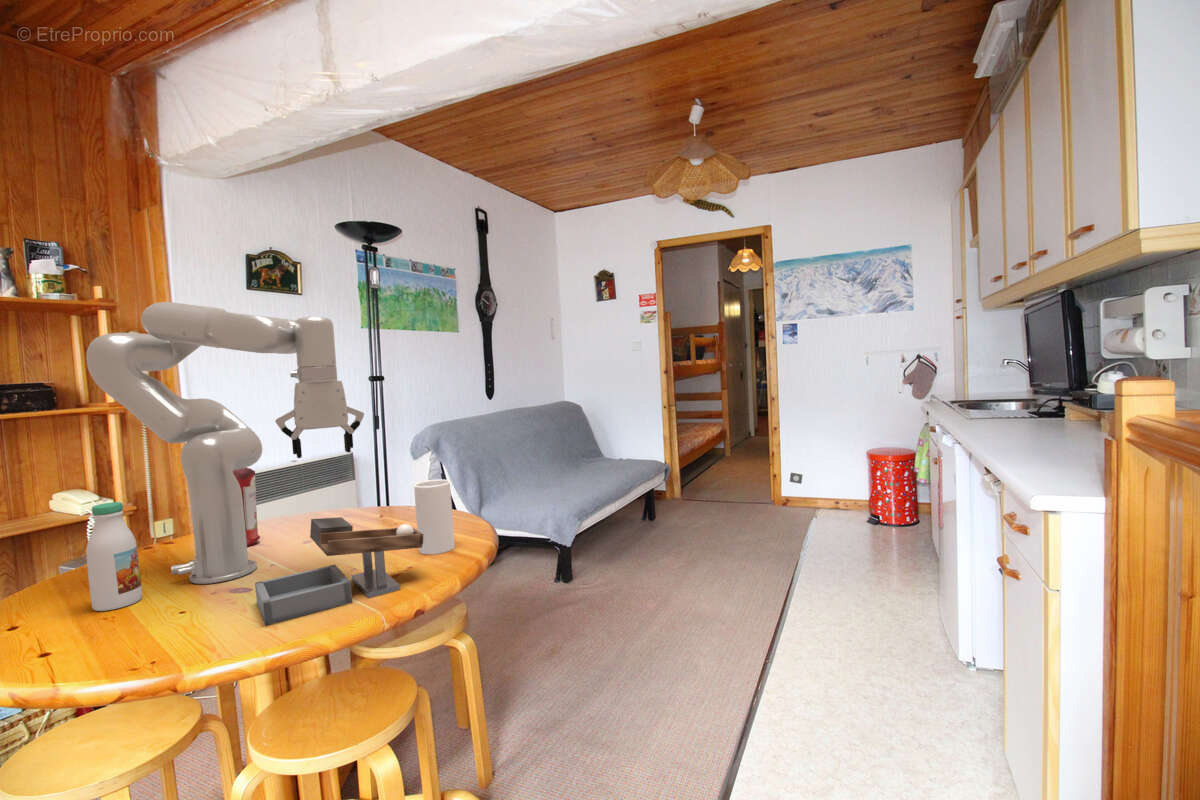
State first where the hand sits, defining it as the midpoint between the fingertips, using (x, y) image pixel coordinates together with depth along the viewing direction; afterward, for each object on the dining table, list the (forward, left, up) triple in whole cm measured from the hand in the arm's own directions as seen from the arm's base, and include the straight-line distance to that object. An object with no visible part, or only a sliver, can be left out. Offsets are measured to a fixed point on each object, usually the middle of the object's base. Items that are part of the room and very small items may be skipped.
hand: (324, 454), depth 126 cm
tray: (-8, -16, -26) cm, 31 cm away
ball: (+11, -16, -17) cm, 25 cm away
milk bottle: (-37, +11, -26) cm, 47 cm away
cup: (+23, -2, -26) cm, 34 cm away
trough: (+5, -11, -18) cm, 21 cm away
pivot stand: (+5, -16, -26) cm, 30 cm away
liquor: (-13, +40, -26) cm, 50 cm away
